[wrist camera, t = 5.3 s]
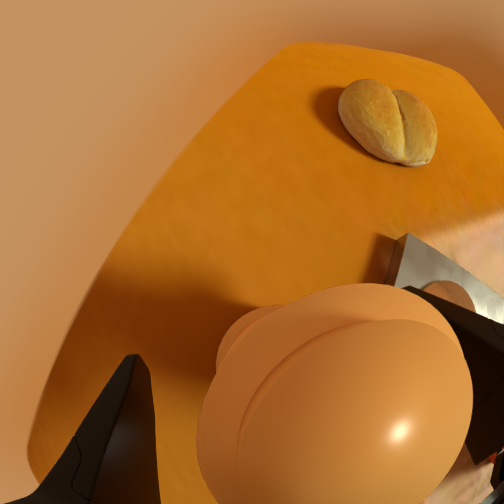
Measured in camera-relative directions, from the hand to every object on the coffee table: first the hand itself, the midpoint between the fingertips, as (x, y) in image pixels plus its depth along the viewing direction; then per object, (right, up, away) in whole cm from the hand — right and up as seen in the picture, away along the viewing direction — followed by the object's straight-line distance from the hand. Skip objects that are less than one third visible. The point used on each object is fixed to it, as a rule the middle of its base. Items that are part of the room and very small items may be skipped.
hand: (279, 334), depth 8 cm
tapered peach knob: (0, -3, +6) cm, 7 cm away
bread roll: (+11, +13, +12) cm, 20 cm away
